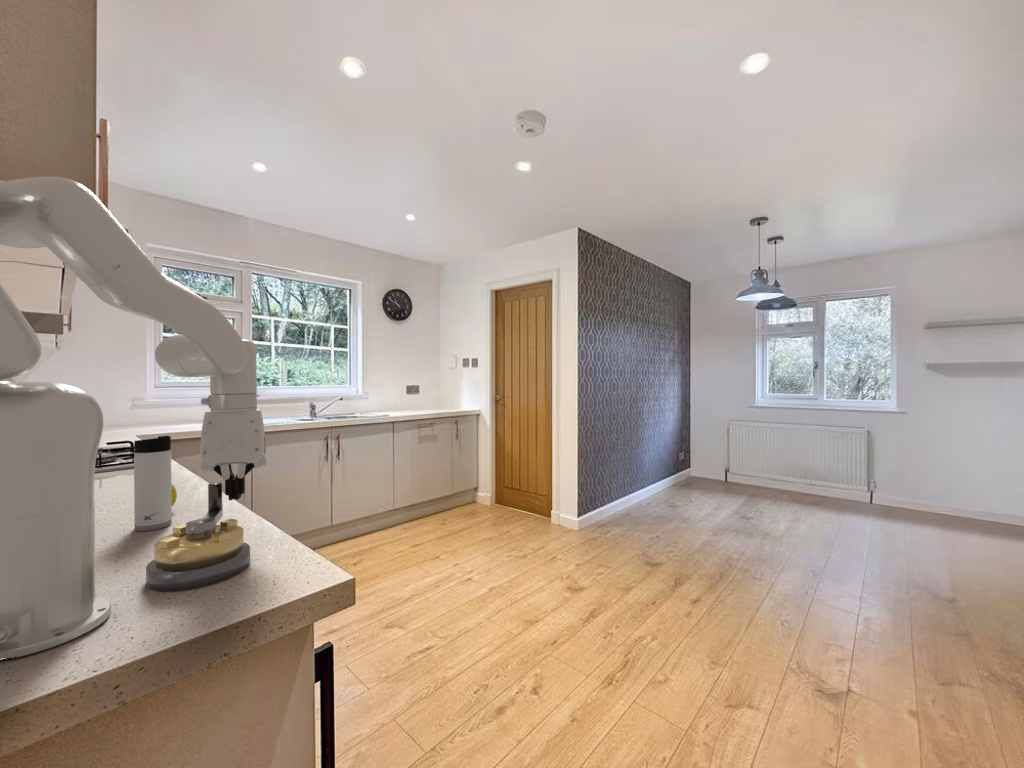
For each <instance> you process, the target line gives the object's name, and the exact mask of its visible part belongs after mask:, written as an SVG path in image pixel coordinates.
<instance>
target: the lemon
mask: <svg viewBox="0 0 1024 768" xmlns="http://www.w3.org/2000/svg"><path fill="white" fill-rule="evenodd" d="M177 496H178V493H177V489H176V487H175V485H174V484H173V483H171V502H172V507H173V506H174V505H175V503H176V502H177Z"/></svg>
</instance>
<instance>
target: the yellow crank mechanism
mask: <svg viewBox="0 0 1024 768" xmlns="http://www.w3.org/2000/svg"><path fill="white" fill-rule="evenodd" d="M207 485H208V486H207V488H208V489H207V493H208V494H207V500H208V501H207V502H208V503H207V505H208V506H207V507H208V511H207V512H206V514H204V516H203V517H202V518H197V519H193V520H189V521H187V522H186V523H182V524H179V525H176V526H172V534H168V535H166V536H164V537H162V538H160V539H158V540H157V541H156V542H155V543H154V545H153V549H154V550H153V553H154V555H153V557H154V558H153V560H154V565H155V567H156V568H158V569H162V570H185V569H193V568H198V567H203V566H207V565H211V564H215V563H218V562H221V561H224V560H226V559H229V558H231V557H233V556H235V555H237V554H238V553H240V552H241V551H242V549H243V542H244V527H242V526H240V525H238V519H235V518H228V519H224V520H222V521H220V520H221V519H222V517H223V516H224V513H223V512H224V509H223V482H217V481H216V482H212V483H208V484H207ZM219 521H220V522H219ZM218 523H219V524H218Z"/></svg>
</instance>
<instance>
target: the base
mask: <svg viewBox="0 0 1024 768" xmlns="http://www.w3.org/2000/svg"><path fill="white" fill-rule="evenodd" d="M250 564H251V546H250V545H249V544H248V543H247V542H244V541H243V549H242V551H241V552H240V553H238V554H237V555H235V556H233V557H231V558H229V559H226V560H224V561H221V562H218V563H215V564H211V565H207V566H203V567H198V568H193V569H185V570H162V569H158V568H156V567H155V565H154V559H152V560H151V561H150V562H148V563H147V565H146V567H145V585H146V587H147V588H148V589H149V590H151V591H154V592H155V591H156V592H161V593H162V592H166V593H168V592H169V593H170V592H171V593H172V592H182V591H190V590H195V589H199V588H200V589H201V588H204V587H208V586H212V585H215V584H217V583H221V582H224V581H226V580H229V579H232V578H233V577H235V576H237V575H239V574H241V573H242V572H244V571H245V570H246V569H248V567H249V566H250Z"/></svg>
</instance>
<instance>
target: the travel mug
mask: <svg viewBox="0 0 1024 768" xmlns="http://www.w3.org/2000/svg"><path fill="white" fill-rule="evenodd" d="M133 446H134V451H133V455H134V456H133V480H134V482H133V484H134V485H133V486H134V488H133V491H134V492H133V496H134V498H133V499H134V500H133V501H134V502H133V503H134V504H133V505H134V507H133V508H134V509H133V510H134V512H133V513H134V514H133V515H134V530H135V531H136V532H149V531H150V532H151V531H155V530H160V529H161V530H162V529H163V528H167V527H168V526H170V525H171V524H172V523H173V522H172V520H173V519H172V515H173V514H172V507H173V506H172V502H171V484H172V437H171V436H170V435H161V436H157V437H156V438H147V439H139V440H134V445H133Z"/></svg>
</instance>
